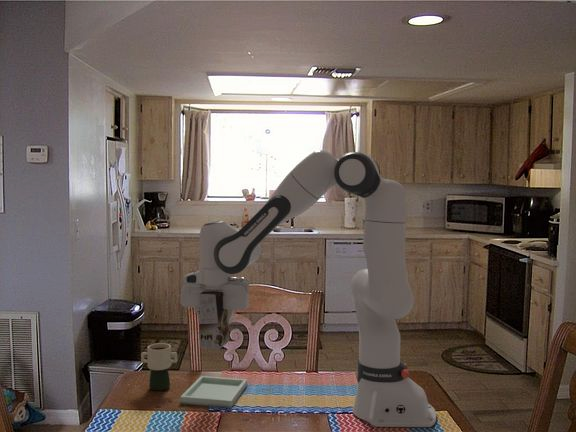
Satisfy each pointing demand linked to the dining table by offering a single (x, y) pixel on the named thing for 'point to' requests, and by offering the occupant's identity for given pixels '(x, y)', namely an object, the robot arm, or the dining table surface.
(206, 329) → the coffee box
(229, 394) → the tray
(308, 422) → the dining table surface
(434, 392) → the dining table surface
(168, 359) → the character mug
